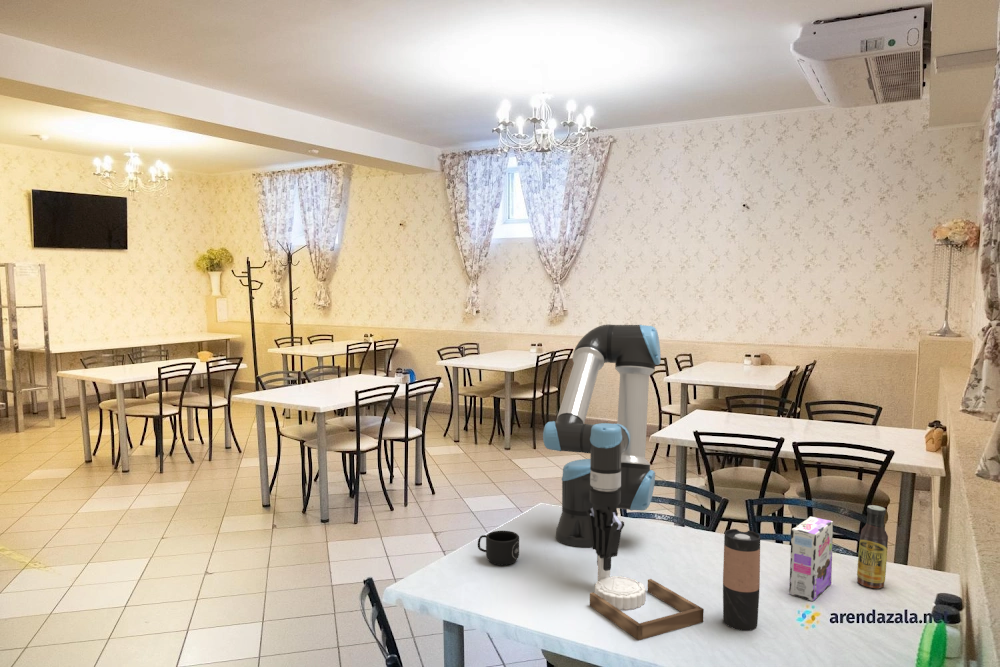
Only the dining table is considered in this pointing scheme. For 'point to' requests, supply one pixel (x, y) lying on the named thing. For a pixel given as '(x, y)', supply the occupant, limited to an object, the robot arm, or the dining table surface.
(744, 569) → the travel mug
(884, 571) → the sauce bottle
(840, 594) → the dining table surface
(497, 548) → the mug
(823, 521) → the candy box
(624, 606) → the mooncake
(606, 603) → the wooden u-shaped frame
